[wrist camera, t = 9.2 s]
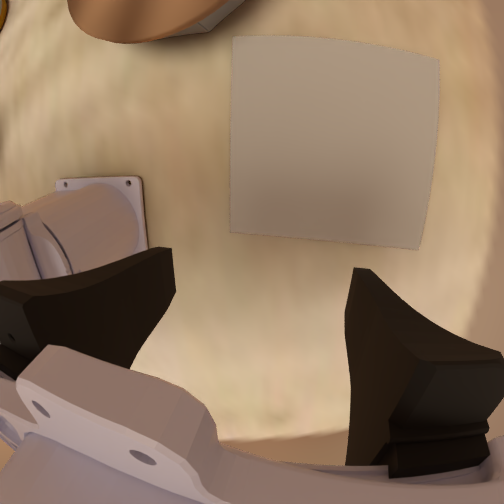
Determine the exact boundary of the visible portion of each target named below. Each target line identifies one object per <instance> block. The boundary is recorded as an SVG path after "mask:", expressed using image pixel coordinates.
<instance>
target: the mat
mask: <svg viewBox="0 0 504 504" xmlns="http://www.w3.org/2000/svg"><path fill="white" fill-rule="evenodd" d="M439 96H440V60H439V59H435V58H432V57H428V56H425V55H421V54H417V53H413V52H409V51H404V50H400V49H395V48H390V47H385V46H380V45H374V44H369V43H362V42H356V41H348V40H340V39H331V38H320V37H306V36H284V35H251V36H233V43H232V78H231V130H230V232H231V233H243V234H255V235H267V236H278V237H290V238H301V239H312V240H322V241H333V242H343V243H353V244H364V245H373V246H383V247H393V248H402V249H412V250H419V247H420V242H421V238H422V233H423V229H424V224H425V219H426V214H427V208H428V203H429V197H430V191H431V184H432V177H433V170H434V162H435V154H436V144H437V133H438V118H439Z"/></svg>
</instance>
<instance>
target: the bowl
mask: <svg viewBox="0 0 504 504" xmlns="http://www.w3.org/2000/svg"><path fill="white" fill-rule="evenodd" d="M244 1H245V0H229V1H228V2H227V3H225V4H224V5H223V6H221V7H220V8H219V9H218V10H216V11H215V12H214V13H212V14H211V15H209V16H207V17H206V18H204V19H203V20H201V21H199V22H198V23H196V24H194V25H192V26H190V27H189V28H186V29H184V30H182V31H179V32H177V33H175V34H172V35H169V36H166V37H164V38H167V37H174V36H180V35H187V34H195V33H205V32H210V31H211V30H212V29H213V28H214V27H215V26H216V25H217V24H218V23H220V22H221V21H222V20H223V19H224V18H225V17H226V16H228V15H229V14H230V13H231V12H232V11H233V10H235V9H236V8H237V7H238V6H239V5H240V4H242V3H243V2H244Z"/></svg>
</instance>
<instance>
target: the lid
mask: <svg viewBox="0 0 504 504" xmlns="http://www.w3.org/2000/svg"><path fill="white" fill-rule="evenodd" d="M228 1H229V0H67V2H68V8H69V11H70V14H71V17H72V19H73V20H74V22H75V24H76V25H77V26H78V27H79V28H80V29H81V30H82V31H84V32H85V33H87V34H88V35H90V36H93V37H95V38H98V39H102V40H106V41H110V42H114V43H123V44H131V43H142V42H149V41H153V40H157V39H161V38H164V37H166V36H169V35H172V34H175V33H177V32H179V31H182V30H184V29H186V28H189V27H190V26H192V25H194V24H196V23H198V22H199V21H201V20H203V19H204V18H206V17H207V16H209V15H211V14H212V13H214V12H215V11H216V10H218V9H219V8H220V7H221V6H223V5H224V4H225V3H227V2H228Z"/></svg>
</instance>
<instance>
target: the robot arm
mask: <svg viewBox="0 0 504 504" xmlns="http://www.w3.org/2000/svg"><path fill="white" fill-rule="evenodd" d="M128 180H130V181H131V185H129V183H128ZM67 184H68V186H67ZM55 187H56V192H53V193H51V194H49V195H46V196H44V197H42V198H39V199H37V200H35V201H33V202H30V203H28V204H26V205H24V206H22V207H21V206H20V205H16V204H15V203H13V202H12V201H5V202H2V203H0V438H1V439H2V440H3V441H4V442H5V443H6V444H7V445H9V446H10V447H11V448H12V449H13V450H14V451H15V452H14V453H13V455H12V456H11V458H10V459H9V460H8V462H7V464H6V465H5V466H4V468H3V469H2V471H1V472H0V504H504V436H499V437H497V438H494V439H492V440H490V441H489V442H487V441H486V437H485V434H486V433H487V432H488V431H489V425H488V422H487V418H488V417H489V416H490V415H491V413H492V412H493V411H494V410H495V408H496V407H497V406H498V404H499V403H500V402H501V400H502V399H503V397H504V358H503V356H502V354H501V352H499V351H496V350H493V349H490V348H487V347H484V346H481V345H478V344H475V343H473V342H470V341H468V340H466V339H463V338H461V337H459V336H457V335H455V334H453V333H451V332H449V331H447V330H445V329H444V328H442V327H440V326H438V325H436V324H435V323H433V322H432V321H430V320H429V319H427V318H426V317H424V316H423V315H421V314H420V313H419V312H417V311H416V310H414V309H413V308H412V307H411V306H409V305H408V304H407V303H406V302H405V301H404V300H402V299H401V298H400V297H399V296H398V295H397V294H396V293H395V292H393V291H392V290H391V289H390V288H389V287H388V286H387V285H386V284H385V283H384V282H383V281H382V280H381V279H380V278H379V277H378V276H377V275H376V274H375V273H374V272H373V271H371V270H370V269H365V268H355V267H354V269H353V274H352V279H351V284H350V289H349V294H348V299H347V304H346V308H345V340H346V348H347V356H348V364H349V372H350V383H351V403H350V423H349V436H348V446H347V455H346V462H345V466H335V465H314V464H302V463H292V462H283V461H275V460H271V459H268V458H265V457H261V456H258V455H255V454H251V453H249V452H245V451H243V450H240V449H237V448H234V447H231V446H228V445H225V444H223V443H220V442H219V441H218V436H217V429H216V424H215V422H214V420H213V418H212V417H211V415H210V413H209V411H208V409H207V408H206V406H205V405H204V404H203V403H202V402H200V401H199V400H198V399H196V398H195V397H194V396H193V395H191V394H190V393H189V392H187V391H186V390H185V389H184V388H181V387H179V386H177V385H174V384H172V383H169V382H167V381H165V380H162V379H160V378H158V377H154V376H150V375H147V374H143V373H140V372H137V371H133V370H130V367H131V365H132V363H133V361H134V359H135V357H136V355H137V353H138V352H139V350H140V348H141V347H142V345H143V344H144V342H145V341H146V340H147V338H148V337H149V335H150V334H151V332H152V331H153V330H154V328H155V327H156V325H157V324H158V322H159V321H160V319H161V318H162V317H163V315H164V314H165V312H166V311H167V309H168V307H169V305H170V303H171V301H172V299H173V297H174V295H175V293H176V286H175V277H174V268H173V258H172V248H165V247H155V248H151V249H148V245H147V237H146V228H145V218H144V207H143V195H142V182H141V179H140V178H139V177H138V176H110V177H85V178H67V179H59V180H57V181H56V183H55Z"/></svg>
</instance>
